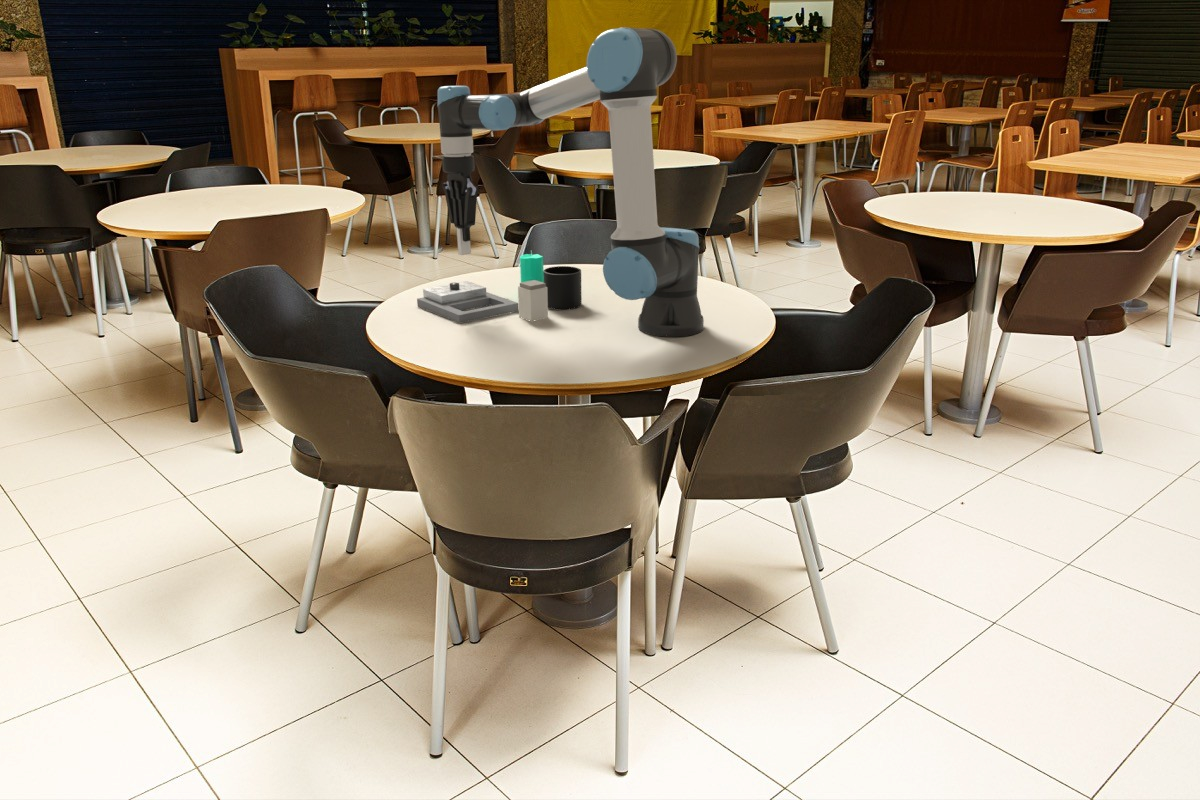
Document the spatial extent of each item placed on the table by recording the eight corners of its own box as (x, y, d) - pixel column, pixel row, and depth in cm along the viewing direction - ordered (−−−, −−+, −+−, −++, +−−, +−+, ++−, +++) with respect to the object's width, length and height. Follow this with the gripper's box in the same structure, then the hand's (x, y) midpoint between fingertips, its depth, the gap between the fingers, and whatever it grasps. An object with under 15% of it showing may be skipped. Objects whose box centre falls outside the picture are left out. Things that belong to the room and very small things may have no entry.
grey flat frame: (518, 310, 229) (518, 303, 229) (459, 323, 219) (459, 315, 219) (474, 295, 244) (474, 287, 243) (417, 306, 234) (416, 298, 233)
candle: (543, 298, 241) (541, 252, 236) (520, 298, 241) (518, 252, 237) (544, 292, 246) (543, 247, 242) (522, 292, 246) (520, 247, 242)
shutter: (486, 295, 236) (485, 282, 234) (441, 303, 228) (441, 291, 227) (467, 288, 242) (466, 276, 241) (423, 296, 234) (422, 284, 233)
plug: (548, 317, 224) (547, 283, 221) (531, 321, 221) (530, 286, 218) (535, 313, 227) (534, 279, 224) (519, 317, 224) (517, 282, 221)
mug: (584, 298, 241) (584, 264, 237) (579, 310, 230) (579, 274, 226) (548, 297, 241) (547, 263, 238) (541, 310, 230) (540, 274, 227)
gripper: (486, 155, 216) (492, 255, 224) (456, 151, 226) (463, 248, 234) (458, 158, 212) (465, 260, 220) (429, 154, 221) (437, 252, 229)
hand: (464, 253), depth 227 cm, fingers closed
